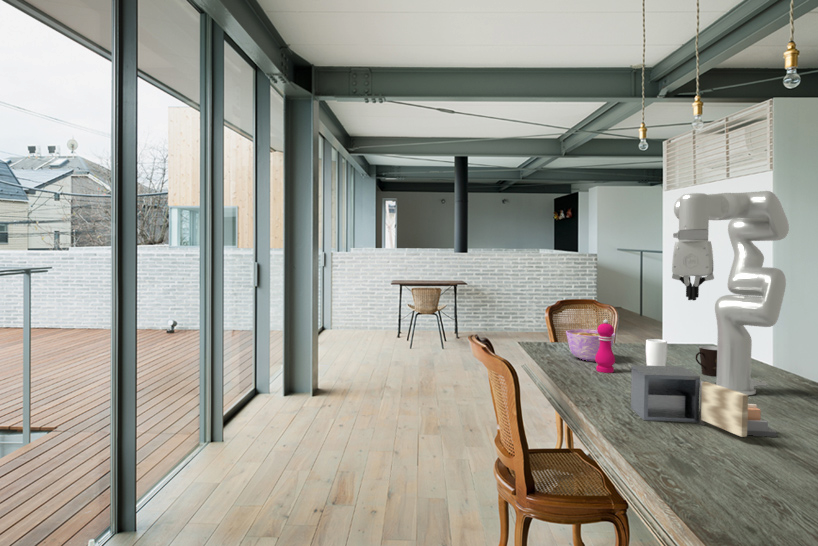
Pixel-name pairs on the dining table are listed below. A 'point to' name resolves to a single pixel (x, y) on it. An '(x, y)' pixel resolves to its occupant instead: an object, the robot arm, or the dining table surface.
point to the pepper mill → (605, 348)
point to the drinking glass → (656, 352)
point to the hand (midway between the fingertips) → (692, 299)
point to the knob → (753, 412)
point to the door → (723, 408)
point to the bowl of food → (585, 343)
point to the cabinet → (665, 393)
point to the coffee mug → (708, 360)
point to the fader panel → (759, 428)
